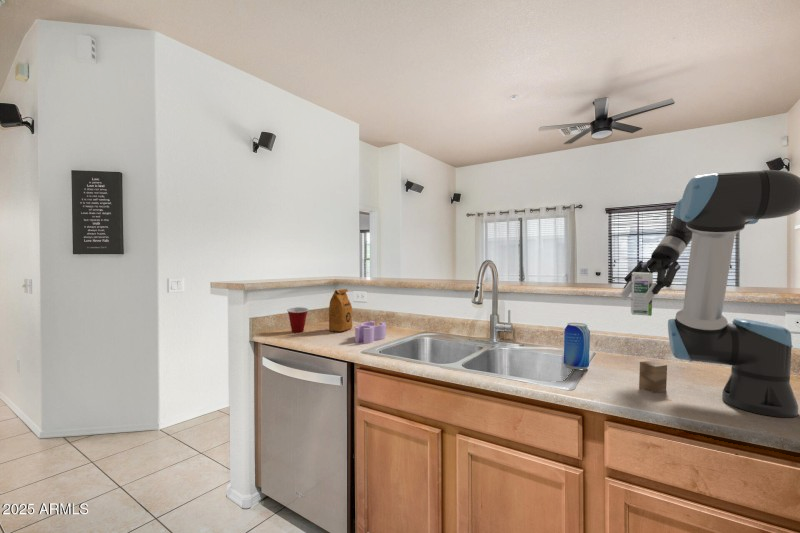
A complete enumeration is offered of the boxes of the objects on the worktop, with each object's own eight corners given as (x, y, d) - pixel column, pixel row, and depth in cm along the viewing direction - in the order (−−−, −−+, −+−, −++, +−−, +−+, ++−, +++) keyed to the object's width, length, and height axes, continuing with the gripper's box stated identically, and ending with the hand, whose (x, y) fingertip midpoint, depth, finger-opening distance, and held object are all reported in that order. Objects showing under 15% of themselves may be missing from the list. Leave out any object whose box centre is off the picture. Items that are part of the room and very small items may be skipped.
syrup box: (631, 314, 129) (633, 272, 128) (630, 312, 134) (631, 271, 133) (651, 316, 126) (653, 273, 126) (649, 313, 131) (650, 272, 131)
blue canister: (558, 365, 139) (559, 323, 139) (573, 363, 143) (574, 321, 143) (578, 372, 132) (579, 327, 131) (594, 369, 136) (595, 325, 135)
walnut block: (666, 391, 114) (667, 365, 114) (654, 393, 113) (655, 366, 112) (650, 385, 119) (651, 360, 119) (639, 387, 117) (639, 362, 117)
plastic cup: (286, 334, 188) (286, 310, 188) (287, 330, 199) (287, 307, 198) (308, 333, 191) (308, 310, 190) (308, 329, 201) (308, 307, 201)
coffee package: (355, 329, 203) (355, 288, 202) (341, 333, 192) (341, 290, 191) (340, 327, 207) (340, 287, 207) (326, 331, 196) (326, 289, 196)
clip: (372, 345, 169) (372, 329, 169) (348, 342, 174) (348, 327, 174) (390, 336, 188) (390, 322, 187) (368, 334, 192) (368, 320, 192)
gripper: (704, 259, 125) (670, 310, 120) (644, 259, 145) (612, 302, 139) (694, 243, 123) (659, 293, 118) (635, 245, 143) (602, 288, 137)
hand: (634, 298), depth 129 cm, fingers closed on syrup box, 8 cm apart
